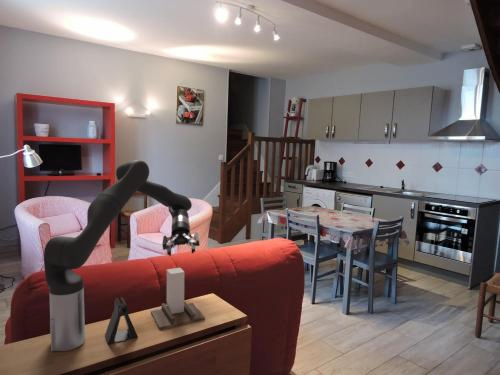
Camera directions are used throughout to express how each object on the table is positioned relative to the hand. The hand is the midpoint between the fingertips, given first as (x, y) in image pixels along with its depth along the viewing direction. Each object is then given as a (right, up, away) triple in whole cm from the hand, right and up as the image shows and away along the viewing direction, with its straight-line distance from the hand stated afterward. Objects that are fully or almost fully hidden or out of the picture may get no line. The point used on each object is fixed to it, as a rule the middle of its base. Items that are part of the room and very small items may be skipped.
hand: (181, 252), depth 135 cm
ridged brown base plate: (0, -22, -7) cm, 23 cm away
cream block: (-1, -20, -5) cm, 21 cm away
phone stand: (-15, -23, -21) cm, 35 cm away
